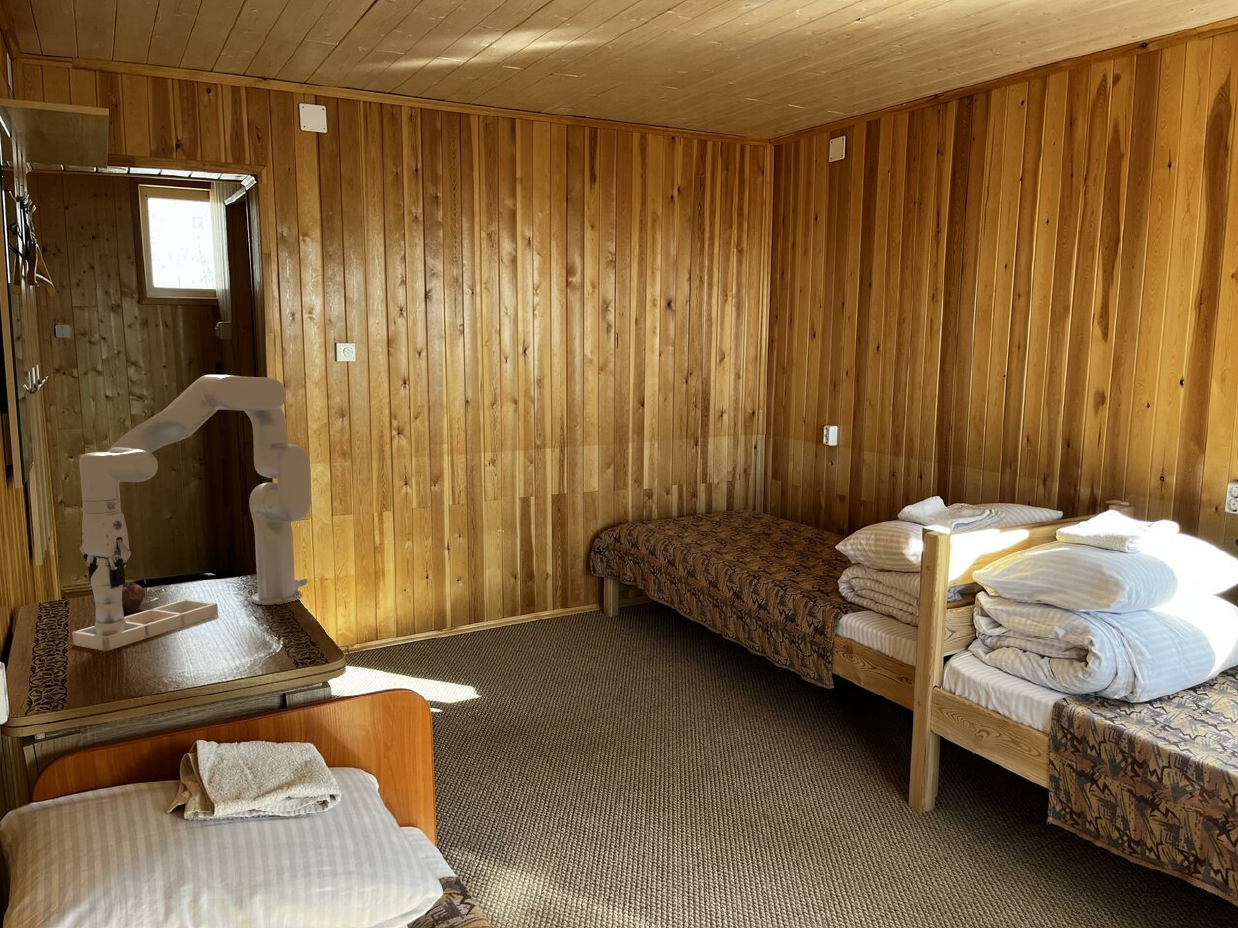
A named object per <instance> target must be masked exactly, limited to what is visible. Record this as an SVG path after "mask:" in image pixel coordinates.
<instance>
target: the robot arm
mask: <svg viewBox="0 0 1238 928" xmlns="http://www.w3.org/2000/svg"><path fill="white" fill-rule="evenodd" d="M286 399H287V391H286V387H285V386H284V384H283V383H282V382H281V381H280V380H278V379H276V378H273V377H257V376H256V377H255V376H254V377H253V376H240V375H232V374H231V375H228V374H206V375H202V376H201V377H198V379H196V380H195V381H194V382H193V383H192V384H190V385H189V386H188V387H187V388H186V389H185V390H184V391H183V392H181V393H180V395H178V397H176V398H175V399H174V400H173V401H172V402H171V403H170V404H168V405H167V406H166V407H165V408H164V409H163V410H162V411H160V412H159V413H157V414H155V415H153V416H151V417H150V418H147V420H145V421H142V422H141V423H140V424H137V425H136V426H135V427H133V428H132V429H130V430H129V431H127V432H126V433H125V434H124V435H123V436H121V437H120V438H119V439H118V440H117V441H116V442H115V443H113V445H112V446H111V447H110V448H109V449H108V450H107V451H96V452H87V453H84V454H81V456H80V457H79V474H80V487H81V501H82V503H81V504H82V513H83V514H82V521H81V522H82V523H81V524H82V526H81V539H82V540H81V541H82V544H81V546H80V547H79V551H80V553H81V554H82V555H83V559H84V561H85V565H86V566H87V568H88V569H87V570H88V580H89V581H88V582H89V584H90V585H91V577H92V575H93V573H94V572H95V570H96V569H97V568H98V565H96V563H97V556H98V557H106V558H108V559H109V562H110V565H111V568H112V569H111V570H110V581H111V587H116V586H120V585H124V584H125V582H126V576H125V568H126V567H127V563H128V561H129V559H130V557H131V556H132V552H131V551H130V544H129V534H128V528H127V524H126V519H125V516H124V513H123V511H122V508H121V506H122V505H121V494H120V493H121V492H120V483H121V482H122V483H123V482H124V483H126V482H127V483H129V482H130V483H141V482H145V481H149V480H150V479H152V478H153V477H154V476H155V475H156V474H157V472H158V469H159V461H158V460H157V458H156V457H155V455H154V454H153V452H155V451H157V450H159V449H160V448H162V447H164V446H167V445H170V444H173V443H176V442H177V443H178V442H180V441H182V440H183V441H184V439H185V440H186V439H187V438H189V437H191V436H192V435H193V434H195V432H196V431H197V430H198V429H199V428H200V427H202V425H203V424H204V423H206V421H208V420H209V418H211V417H213V415H214V414H215V413H216V412H217V411H218V410H226V411H227V410H228V411H244V412H245V414H246V415H247V416H248V418H249V420H250V422H251V426H252V435H253V464H254V469H255V471H256V473H257V474H258V475H259V476H262V477H265V478H268V479H276V482H263V483H261V484H259V485H257V486H256V487H255V488H254V489H253V490H252V491H251V492H250V495H249V496H250V497H249V504H248V505H249V510H250V514H251V518H252V522H253V529H254V542H255V543H254V544H255V545H254V547H255V563H256V565H255V568H256V586H257V593H254V594H253V595H252V596H251V602H254V603H253V604H256V605H261V604H262V606H263V605H264V606H265V605H266V606H274V604H277V605H283V603H285V604H289V603H288V602H290V603H292V602H291V601H293V602H296V601H298V600H301V598H303V597H302V596H303V593H302V591H301V590H299V588H300V587H303V586H306V585H307V584H308V579H307V578H306V577H303V578H300V579H297V578H296V576H295V575H296V574H295V573H296V572H295V555H294V554H295V553H294V535H293V533H294V532H293V528H292V525H291V523H295V522H300V521H301V520H303V519H304V518H305V517H306V516H307V514H308V513H309V510H310V508H311V504H312V503H311V502H312V501H311V500H312V486H311V485H312V482H311V480H312V479H311V477H312V476H311V475H312V474H311V462H310V458H309V455H308V454H307V452H306V451H305V449H304V448H303V447H301V445H300V446H299V445H297V444H295V443H289V435H288V424H287V419H286V415H285V413H284V410H283V409H282V408H281V407H282V406H283V405H284V404H285V402H286ZM116 559H117V560H116ZM115 561H116V562H115ZM295 595H296V597H297V599H298V600H297V599H296V597H295ZM295 600H296V601H295Z"/></svg>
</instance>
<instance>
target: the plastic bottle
mask: <svg viewBox="0 0 1238 928" xmlns="http://www.w3.org/2000/svg"><path fill="white" fill-rule="evenodd" d="M116 561H117V560H115V562H116ZM96 565H98V568H97V569H96V570H95V572H94V573H93V575H92V577H91V584H90V585H91V590H92V592H93V597H94V603H95V605H94V606H95V622H94V626H95V631H94V633H95V634H96V635H101V636H109V635H112V634H116V633H119V632H122V631H125V630H127V625H126V621H125V619H124V617H125V615H124V609H123V608H122V587H123V585H120V586H116V587H111V581H110V570H111V569H112V568H111V565H110V562H109V559H108V558H106V557H98V556H97V563H96Z"/></svg>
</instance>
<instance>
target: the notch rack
mask: <svg viewBox="0 0 1238 928" xmlns="http://www.w3.org/2000/svg"><path fill="white" fill-rule="evenodd" d="M217 616H219V610H218V603H217V602H216V603H215V602H208V601H202V600H196V599H189V598H185V599H181V600H177V601H174V602H171V603H168V604H163V605H161V606H157V607H154V608H150V609H147V610H144V611H141V612H136V613H135V614H130V615H127V616H124V619H125V621H126V625H127V630H125V631H122V632H119V633H116V634H112V635H109V636H101V635H96V634H95V633H94V631H95V625H93V626H89V627H86V628H82V629H79V630H78V629H77V630H75V631H72V634H71V636H72V645H73V646H77V647H81V648H88V649H92V650H93V649H94V650H97V649H98V650H97V651H102V652H108V651H111V650H115V649H117V648H121V647H124V646H127V645H130V644H133V643H136V642H139V641H142V640H145V639H147V638H151V637H155V636H158V635H161V634H164V633H167V632H170V631H173V630H176V629H179V628H182V627H185V626H189V625H192V624H196V623H198V622H201V621H205V620H208V619H210V618H213V617H217ZM204 619H205V620H204Z"/></svg>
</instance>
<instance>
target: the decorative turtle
mask: <svg viewBox="0 0 1238 928" xmlns="http://www.w3.org/2000/svg"><path fill="white" fill-rule="evenodd" d="M145 595H146V593H145V590H144V588H143V587H142V586H141V585H139V584H137V583H134V582H131V581H125V584H124V585H123V587H122V608H123V611H126V612H127V613H129V614H130V615H133V614H136V613H137V612H138V610H139V609H140V607H141V604H142V602H143V600H144V598H145Z"/></svg>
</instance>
